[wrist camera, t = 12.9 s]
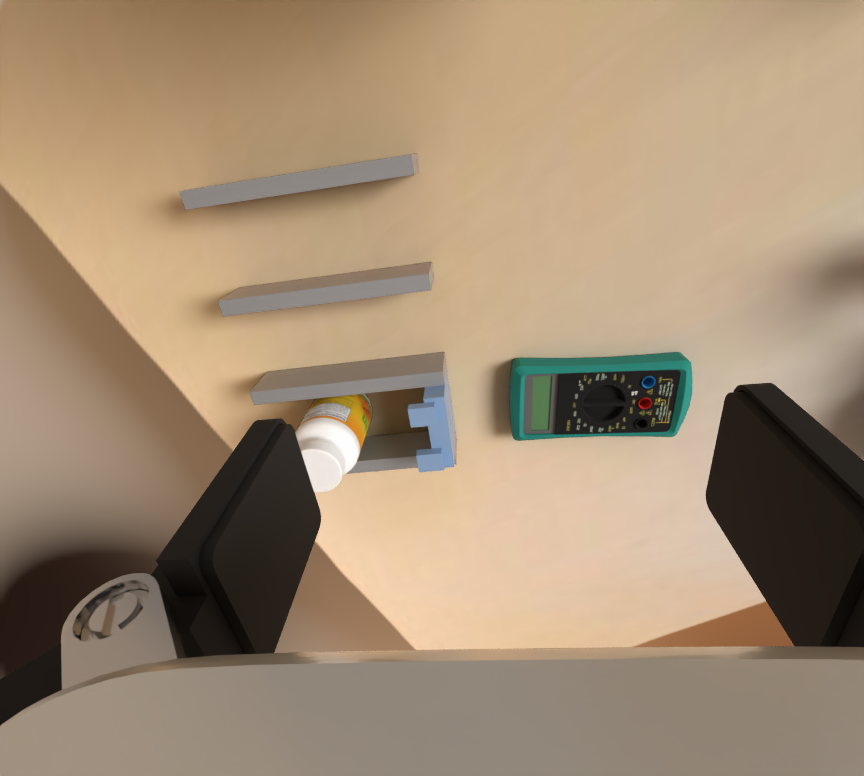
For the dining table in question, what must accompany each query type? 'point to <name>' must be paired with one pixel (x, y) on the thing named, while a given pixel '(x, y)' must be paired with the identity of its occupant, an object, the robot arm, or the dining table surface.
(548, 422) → the digital multimeter
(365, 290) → the grey parallel walls
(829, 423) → the dining table surface
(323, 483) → the supplement bottle
